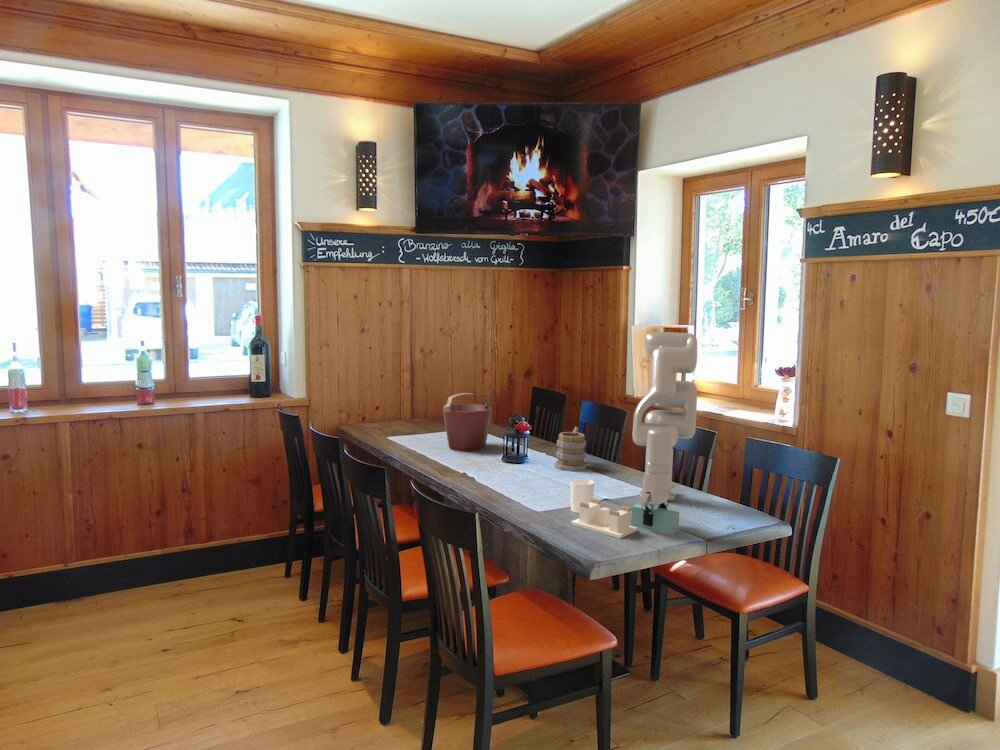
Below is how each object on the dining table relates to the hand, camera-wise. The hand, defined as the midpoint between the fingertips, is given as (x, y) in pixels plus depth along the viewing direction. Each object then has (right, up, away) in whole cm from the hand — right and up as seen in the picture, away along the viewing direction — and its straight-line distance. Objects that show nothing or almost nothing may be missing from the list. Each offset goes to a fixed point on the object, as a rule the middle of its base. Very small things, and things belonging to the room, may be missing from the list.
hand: (654, 522), depth 228 cm
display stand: (-16, -1, -2) cm, 16 cm away
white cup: (-22, +1, +15) cm, 26 cm away
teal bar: (0, -2, 0) cm, 2 cm away
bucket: (-65, +13, +106) cm, 125 cm away
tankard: (-18, +8, +77) cm, 80 cm away
